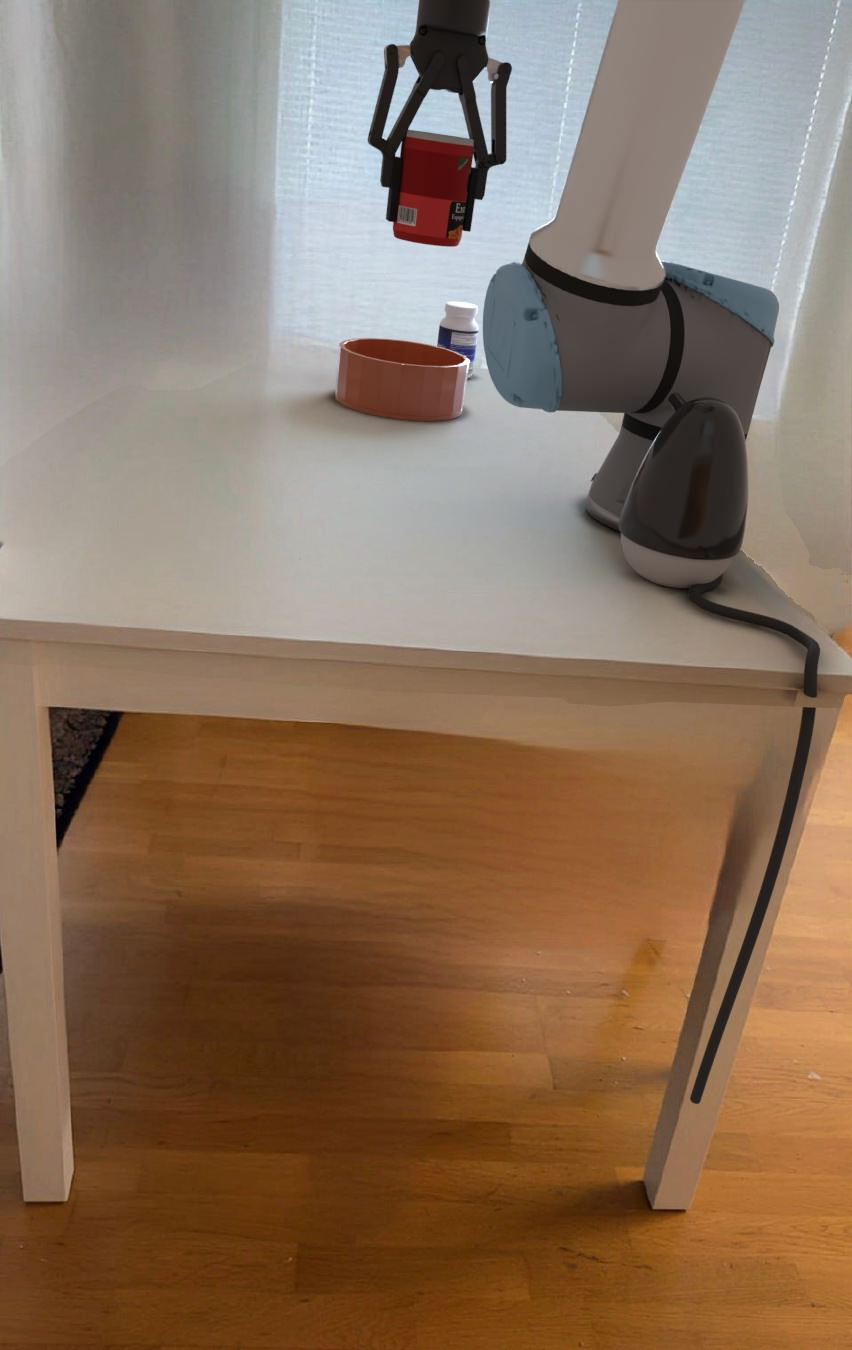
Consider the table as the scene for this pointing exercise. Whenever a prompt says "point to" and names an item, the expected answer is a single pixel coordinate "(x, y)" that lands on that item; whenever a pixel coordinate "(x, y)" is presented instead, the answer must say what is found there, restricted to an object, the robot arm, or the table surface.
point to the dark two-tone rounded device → (688, 496)
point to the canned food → (433, 188)
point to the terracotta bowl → (401, 379)
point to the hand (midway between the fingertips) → (428, 225)
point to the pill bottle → (460, 330)
